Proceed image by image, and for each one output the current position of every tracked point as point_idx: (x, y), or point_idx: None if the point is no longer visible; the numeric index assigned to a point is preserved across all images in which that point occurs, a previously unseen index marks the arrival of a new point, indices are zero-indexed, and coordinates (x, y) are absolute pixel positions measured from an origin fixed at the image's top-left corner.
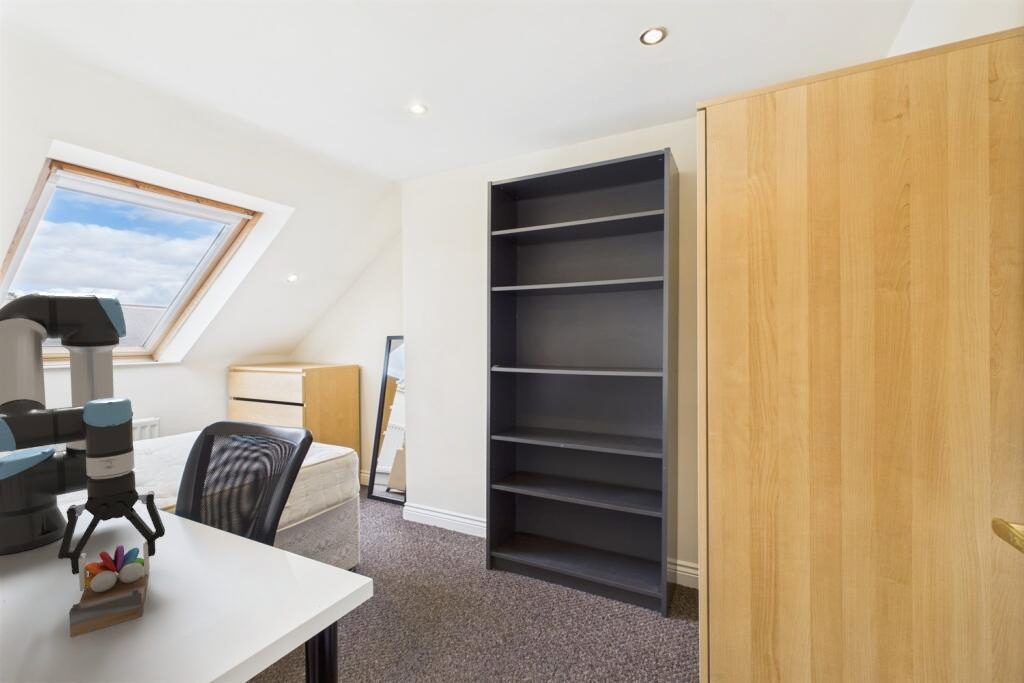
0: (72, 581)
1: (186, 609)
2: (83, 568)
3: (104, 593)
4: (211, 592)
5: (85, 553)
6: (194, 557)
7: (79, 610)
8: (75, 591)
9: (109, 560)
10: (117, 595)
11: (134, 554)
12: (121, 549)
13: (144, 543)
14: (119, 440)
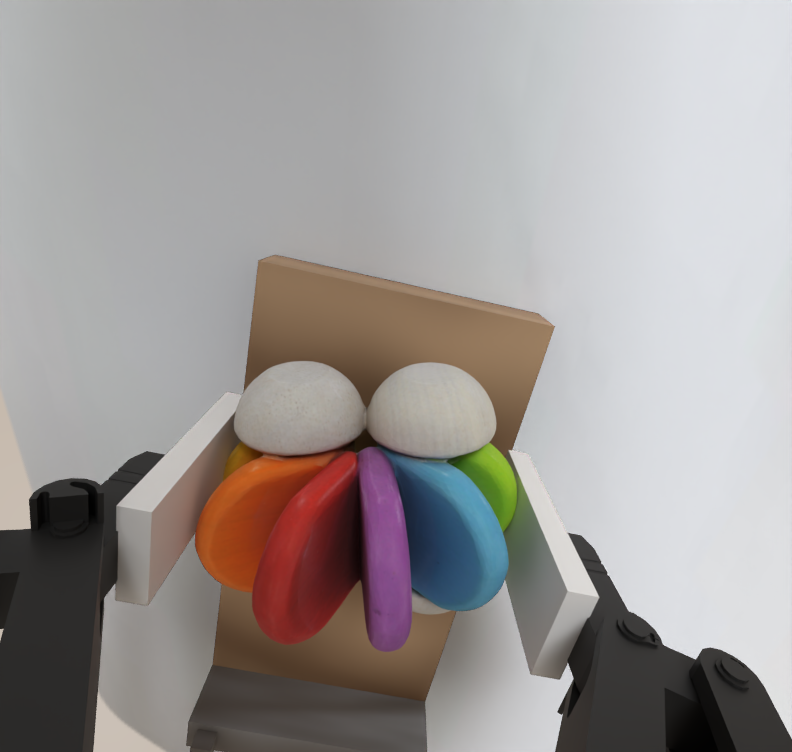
0: (189, 85)
1: (529, 734)
2: (184, 543)
3: None
4: None
5: (150, 528)
6: (764, 327)
7: (219, 747)
8: (214, 266)
9: (318, 630)
10: (360, 592)
11: (464, 610)
12: (391, 650)
13: (545, 659)
14: None
